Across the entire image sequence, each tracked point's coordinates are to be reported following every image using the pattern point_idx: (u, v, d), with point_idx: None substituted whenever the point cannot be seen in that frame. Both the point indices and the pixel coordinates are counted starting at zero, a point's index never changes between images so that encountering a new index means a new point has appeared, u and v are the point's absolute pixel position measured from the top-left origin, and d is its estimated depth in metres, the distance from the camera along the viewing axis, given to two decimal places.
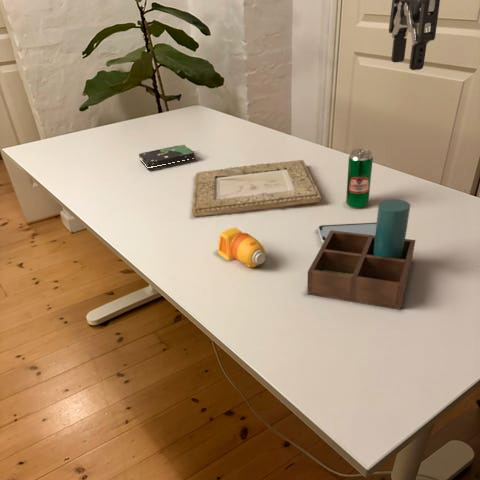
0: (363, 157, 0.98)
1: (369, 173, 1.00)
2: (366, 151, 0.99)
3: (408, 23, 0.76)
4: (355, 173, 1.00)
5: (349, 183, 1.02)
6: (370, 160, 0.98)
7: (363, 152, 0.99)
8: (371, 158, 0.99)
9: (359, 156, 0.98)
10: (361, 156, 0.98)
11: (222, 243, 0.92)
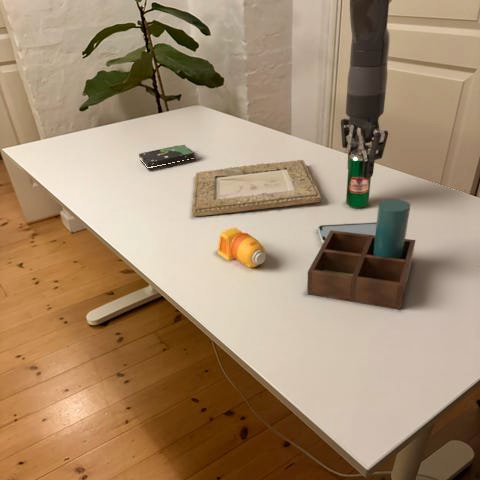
0: (363, 157, 0.98)
1: None
2: None
3: (363, 143, 0.95)
4: (355, 173, 1.00)
5: (349, 183, 1.02)
6: None
7: None
8: None
9: (359, 156, 0.98)
10: (361, 156, 0.98)
11: (222, 243, 0.92)
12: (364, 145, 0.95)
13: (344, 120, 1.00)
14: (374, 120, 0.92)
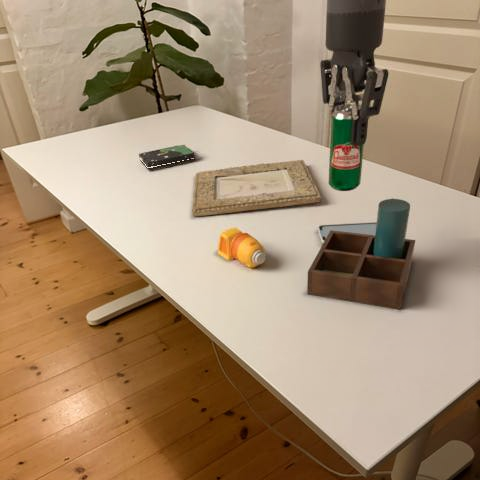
0: (351, 114, 0.66)
1: None
2: None
3: (351, 91, 0.64)
4: (340, 139, 0.69)
5: (332, 154, 0.71)
6: None
7: None
8: None
9: (346, 113, 0.66)
10: (349, 113, 0.66)
11: (222, 243, 0.92)
12: (353, 94, 0.64)
13: (325, 61, 0.69)
14: (367, 53, 0.61)
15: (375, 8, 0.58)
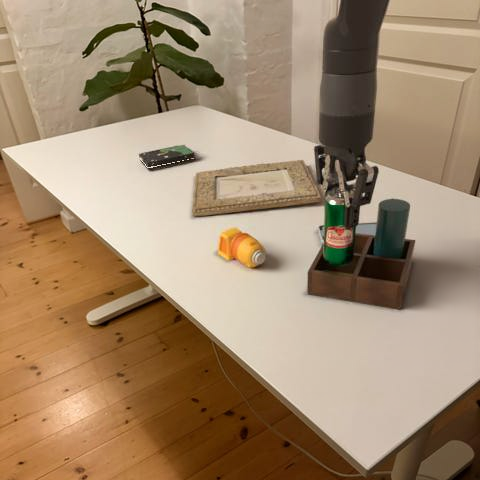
0: (344, 200, 0.69)
1: None
2: None
3: (343, 182, 0.67)
4: (333, 222, 0.72)
5: (326, 234, 0.74)
6: None
7: None
8: None
9: (339, 199, 0.69)
10: (341, 199, 0.69)
11: (222, 243, 0.92)
12: (345, 185, 0.67)
13: (318, 147, 0.72)
14: (358, 150, 0.63)
15: (365, 112, 0.61)
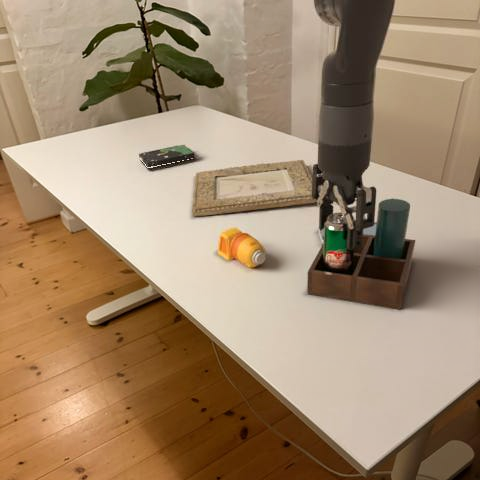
0: (343, 226, 0.72)
1: None
2: None
3: (341, 207, 0.69)
4: (332, 246, 0.74)
5: (325, 257, 0.77)
6: None
7: (343, 218, 0.73)
8: None
9: (337, 225, 0.72)
10: (340, 225, 0.72)
11: (222, 243, 0.92)
12: None
13: (318, 167, 0.73)
14: (356, 177, 0.66)
15: (362, 141, 0.63)
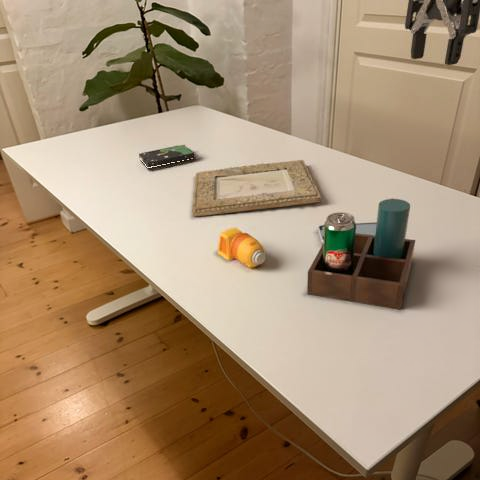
0: (343, 226, 0.72)
1: (351, 245, 0.74)
2: (347, 217, 0.73)
3: (444, 16, 0.73)
4: (332, 246, 0.74)
5: (325, 257, 0.77)
6: (352, 230, 0.73)
7: (343, 218, 0.73)
8: (354, 227, 0.73)
9: (337, 225, 0.72)
10: (340, 225, 0.72)
11: (222, 243, 0.92)
12: (445, 20, 0.73)
13: None
14: None
15: None
